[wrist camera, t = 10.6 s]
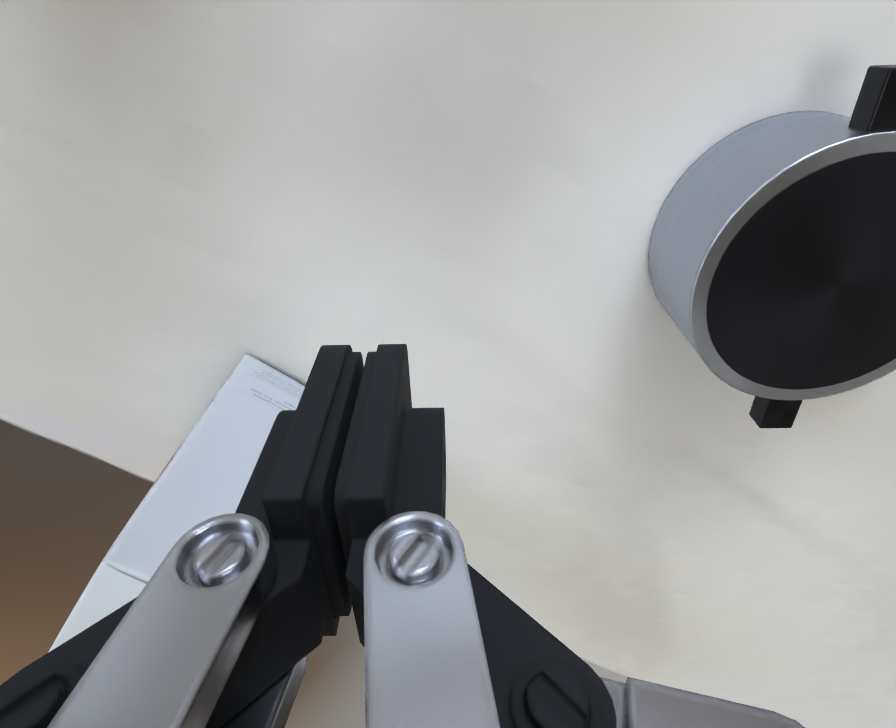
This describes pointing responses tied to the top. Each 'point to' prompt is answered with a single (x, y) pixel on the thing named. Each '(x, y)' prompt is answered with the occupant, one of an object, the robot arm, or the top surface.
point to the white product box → (190, 487)
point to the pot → (788, 253)
